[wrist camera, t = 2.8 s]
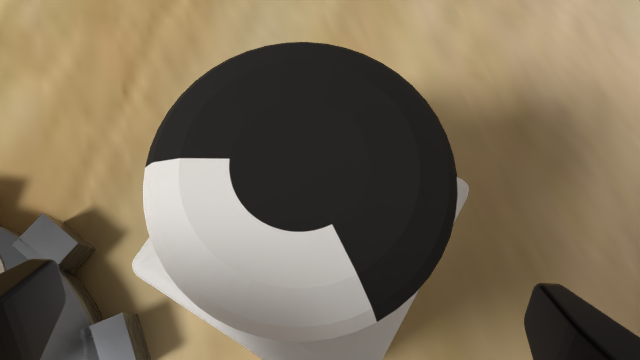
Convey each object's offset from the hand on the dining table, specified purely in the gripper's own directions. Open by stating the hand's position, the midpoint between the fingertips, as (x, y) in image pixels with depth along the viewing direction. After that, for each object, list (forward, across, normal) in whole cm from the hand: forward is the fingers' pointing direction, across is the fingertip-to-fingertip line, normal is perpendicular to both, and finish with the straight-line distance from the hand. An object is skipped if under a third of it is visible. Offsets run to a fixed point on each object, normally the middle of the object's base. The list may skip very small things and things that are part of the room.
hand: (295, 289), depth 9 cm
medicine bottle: (+9, 0, +6) cm, 11 cm away
